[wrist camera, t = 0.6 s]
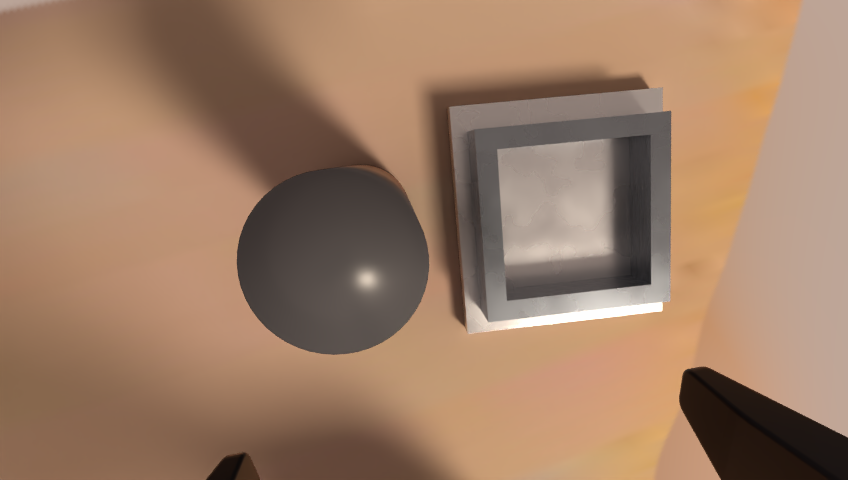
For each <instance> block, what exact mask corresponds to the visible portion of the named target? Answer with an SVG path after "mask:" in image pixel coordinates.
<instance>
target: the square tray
mask: <svg viewBox="0 0 848 480" xmlns="http://www.w3.org/2000/svg"><path fill="white" fill-rule="evenodd" d="M447 116H448V128H449V140H450V153H451V165H452V177H453V189H454V201H455V214H456V226H457V238H458V250H459V262H460V275H461V287H462V299H463V311H464V323H465V329H466V331H467V333H468V334H470V333H478V332H487V331H495V330H504V329H512V328H521V327H529V326H538V325H547V324H555V323H564V322H572V321H581V320H589V319H598V318H606V317H615V316H623V315H632V314H640V313H649V312H657V311H662V302H668V301H670V249H671V111H666V112H663V87H662V88H651V89H640V90H629V91H618V92H607V93H596V94H585V95H574V96H562V97H551V98H540V99H529V100H518V101H507V102H496V103H485V104H474V105H462V106H451V107H448V108H447Z"/></svg>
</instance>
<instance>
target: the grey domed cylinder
mask: <svg viewBox="0 0 848 480" xmlns="http://www.w3.org/2000/svg"><path fill="white" fill-rule="evenodd" d="M237 269H238V277H239V281H240V285H241V289H242V291H243V294H244V296H245V299H246V301H247V302H248V304H249V306H250V308H251V310H252V311H253V312H254V314H255V315H256V316H257V318H258V319H259V320H260V321H261V322H262V323H263V324H264V326H265V327H266V328H267V329H269V330H270V331H271V332H272V333H274V334H275V335H276V336H277V337H279V338H281V339H282V340H284V341H285V342H287V343H289V344H291V345H294V346H296V347H298V348H301V349H304V350H307V351H310V352H315V353H321V354H333V355H335V354H348V353H354V352H359V351H362V350H365V349H369V348H371V347H373V346H376V345H378V344H380V343H382V342H383V341H385V340H387V339H388V338H390V337H391V336H393V335H394V334H395V333H396V332H397V331H399V330H400V329H401V328H402V327H403V326H404V325H405V324H406V323H407V322H408V320H409V319H410V318H411V316H412V315H413V314H414V312H415V311H416V309H417V307H418V305H419V303H420V302H421V299H422V297H423V294H424V292H425V288H426V284H427V280H428V272H429V254H428V248H427V242H426V239H425V236H424V232H423V230H422V228H421V225H420V223H419V221H418V219H417V217H416V214H415V212H414V210H413V208H412V205H411V203H410V201H409V199H408V196H407V194H406V192H405V190H404V189H403V187H402V185H401V184H400V183H399V182H398V180H396V179H395V178H394V177H393V176H392V175H391V174H389V173H388V172H386V171H384V170H383V169H380V168H378V167H375V166H370V165H351V166H344V167H337V168H330V169H323V170H317V171H310V172H306V173H303V174H300V175H297V176H294V177H292V178H290V179H288V180H286V181H284V182H282V183H281V184H279V185H277V186H276V187H274V188H273V189H272V190H271V191H269V192H268V193H267V194H266V195H265V196H264V197H263V198H262V199H261V200H260V201H259V202H258V203H257V205H256V206H255V207H254V209H253V210H252V212H251V213H250V215H249V216H248V218H247V220H246V222H245V224H244V227H243V229H242V232H241V236H240V239H239V244H238V250H237Z"/></svg>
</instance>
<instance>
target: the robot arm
mask: <svg viewBox="0 0 848 480" xmlns="http://www.w3.org/2000/svg"><path fill="white" fill-rule="evenodd" d="M679 402H680V406H681V409H682V411H683V413H684V414H685V416H686V418H687V420H688V422H689V423H690V425H691V427H692V429H693V431H694V432H695V434H696V436H697V438H698V439H699V441H700V443H701V445H702V447H703V448H704V450H705V452H706V454H707V456H708V457H709V459H710V461H711V463H712V465H713V466H714V468H715V470H716V472H717V473H718V475H719V477H720V478H721V480H848V438H847V437H846V436H843V435H842V434H840V433H837V432H835V431H833V430H832V429H830V428H828V427H826V426H824V425H821V424H820V423H818V422H816V421H814V420H812V419H810V418H808V417H806V416H803V415H802V414H800V413H798V412H796V411H794V410H792V409H790V408H788V407H786V406H783V405H782V404H780V403H777V402H776V401H774V400H772V399H770V398H768V397H766V396H764V395H762V394H760V393H758V392H756V391H754V390H752V389H750V388H748V387H746V386H744V385H742V384H740V383H738V382H736V381H734V380H732V379H730V378H728V377H726V376H724V375H722V374H720V373H718V372H716V371H714V370H712V369H710V368H708V367H697V368H691V369H687V370H685V371H684V373H683V376H682V383H681V389H680V395H679ZM206 480H260V478H259V475H258V473H257V471H256V469H255V467H254V464H253V462H252V460H251V458H250V456H249V454H247V453H244V452H243V453H237V454H232V455H228V456H226V457H225V458H223V459H222V460H221V462H220V463H219V464H218V465H217V467H216V468H215V469H214V470H213V472H212V473H211V474H210V475H209V476H208V478H207V479H206Z"/></svg>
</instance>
